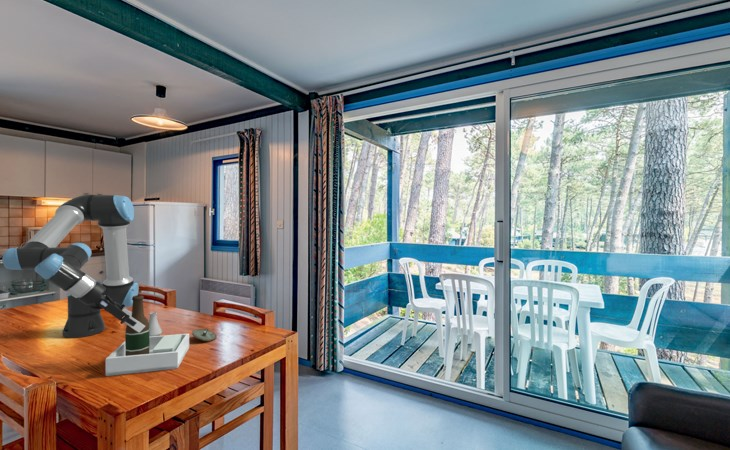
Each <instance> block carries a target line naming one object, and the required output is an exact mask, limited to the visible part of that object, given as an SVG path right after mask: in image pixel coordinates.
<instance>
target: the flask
mask: <svg viewBox="0 0 730 450" xmlns="http://www.w3.org/2000/svg"><path fill="white" fill-rule="evenodd" d="M148 315H149V319H148V322H149V327H150V337H151V336H161V334H163V329H162V328H161V325H160V324H159V321H158V316H157V315H158V312H154V311H153V312H150V313H148Z"/></svg>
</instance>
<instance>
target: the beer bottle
mask: <svg viewBox="0 0 730 450" xmlns="http://www.w3.org/2000/svg"><path fill="white" fill-rule="evenodd" d="M132 300H133V306H131V312H132V316H131V317H133V318H134V319H136V320H137V321H139V322H140V323H142V324H143V325H145V327H144V328H143V329H142V330H141V331H140V332H137V331H136V330H134V329H133V328H131V327H130V326H128V325H127V324H126V326H125V337H124V339H125V340H124V342H125V356H131V355H142V354H149V351H150V327H149V319H147V317H146V316H145V312H144V295H140V294H138V295H136V296H133V298H132Z"/></svg>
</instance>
